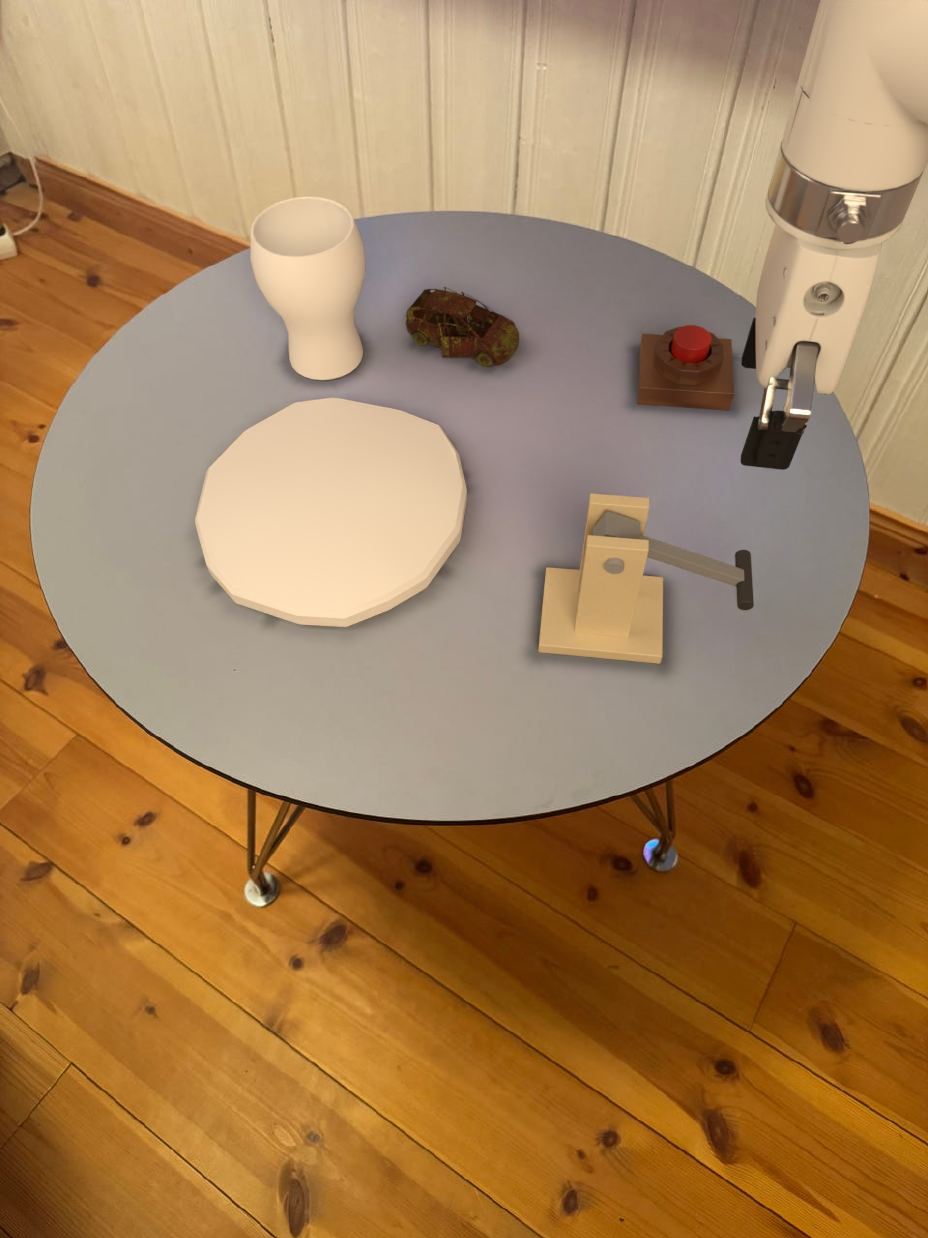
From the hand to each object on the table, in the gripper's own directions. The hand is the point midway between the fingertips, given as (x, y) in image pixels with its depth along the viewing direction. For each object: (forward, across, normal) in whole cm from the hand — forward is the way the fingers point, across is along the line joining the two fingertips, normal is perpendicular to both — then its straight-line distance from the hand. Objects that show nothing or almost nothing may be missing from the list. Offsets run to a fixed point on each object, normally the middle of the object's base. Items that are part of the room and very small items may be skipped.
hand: (762, 413), depth 65 cm
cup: (+19, +22, +40) cm, 50 cm away
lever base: (+18, -6, +9) cm, 22 cm away
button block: (+18, +24, +3) cm, 30 cm away
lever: (+10, -6, +5) cm, 13 cm away
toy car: (+19, +26, +26) cm, 41 cm away
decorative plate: (+19, +1, +34) cm, 39 cm away
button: (+15, +24, +3) cm, 28 cm away
